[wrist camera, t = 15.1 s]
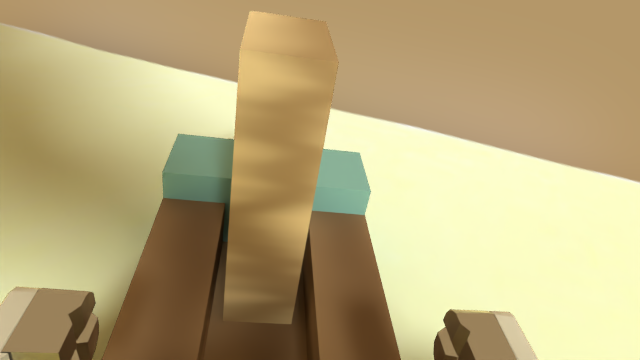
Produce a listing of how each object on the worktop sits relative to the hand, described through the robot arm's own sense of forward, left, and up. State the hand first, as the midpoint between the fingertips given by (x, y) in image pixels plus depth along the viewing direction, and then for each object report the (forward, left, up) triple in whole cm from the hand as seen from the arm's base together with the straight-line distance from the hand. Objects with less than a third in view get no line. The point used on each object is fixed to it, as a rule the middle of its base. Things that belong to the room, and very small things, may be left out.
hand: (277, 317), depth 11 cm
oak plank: (0, +9, -8) cm, 12 cm away
